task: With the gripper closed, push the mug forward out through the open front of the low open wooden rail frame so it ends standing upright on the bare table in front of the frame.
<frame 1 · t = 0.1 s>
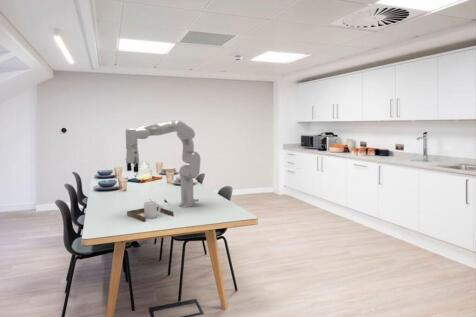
hand: (132, 171, 251), 31 cm above the table, tool pointing down, fingers open, 9 cm apart
open wooden rail frame: (150, 215, 254), on the table
mug: (153, 217, 251), on the table
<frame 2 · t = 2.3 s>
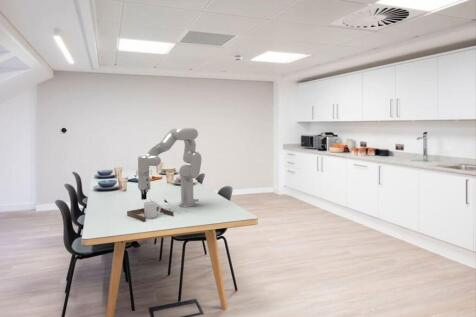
hand: (143, 199, 257), 11 cm above the table, tool pointing down, fingers closed
nothing on the table moved.
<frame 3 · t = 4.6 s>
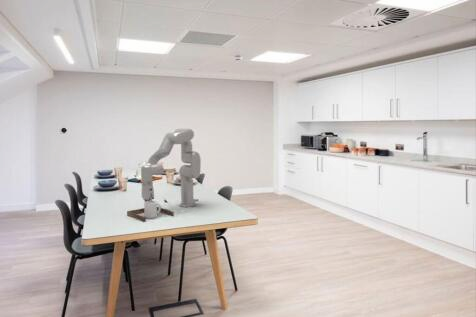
hand: (147, 209, 255), 4 cm above the table, tool pointing down, fingers closed
mug: (153, 216, 251), on the table, touching gripper
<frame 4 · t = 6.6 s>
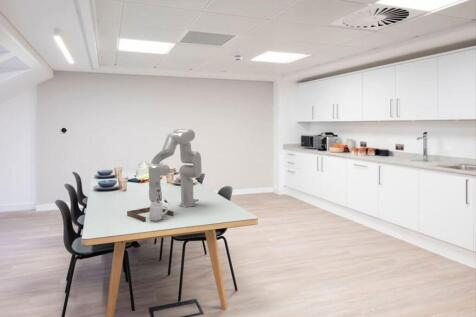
hand: (155, 210, 247), 5 cm above the table, tool pointing down, fingers closed
mug: (158, 217, 244), point 1 cm above the table, touching gripper
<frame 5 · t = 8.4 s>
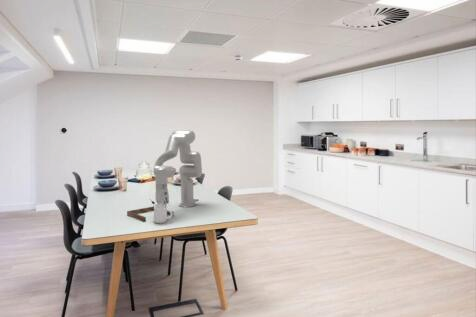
hand: (162, 213, 242), 4 cm above the table, tool pointing down, fingers closed
mug: (162, 221, 237), point 1 cm above the table, touching gripper
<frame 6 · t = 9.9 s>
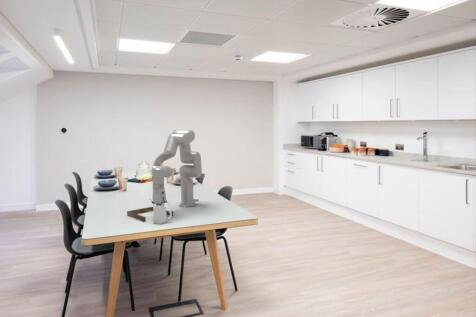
hand: (159, 213, 244), 4 cm above the table, tool pointing down, fingers closed
mug: (162, 222, 237), on the table
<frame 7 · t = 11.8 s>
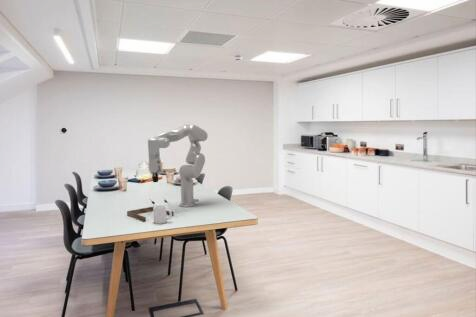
hand: (155, 181, 257), 23 cm above the table, tool pointing down, fingers closed
nothing on the table moved.
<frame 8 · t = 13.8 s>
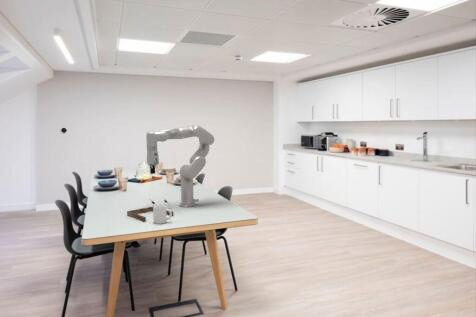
hand: (152, 173, 269), 27 cm above the table, tool pointing down, fingers closed
nothing on the table moved.
at the end: mug inside the target area (4.4 cm from its centre), on the table; mug tilted 0°; mug touching table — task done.
